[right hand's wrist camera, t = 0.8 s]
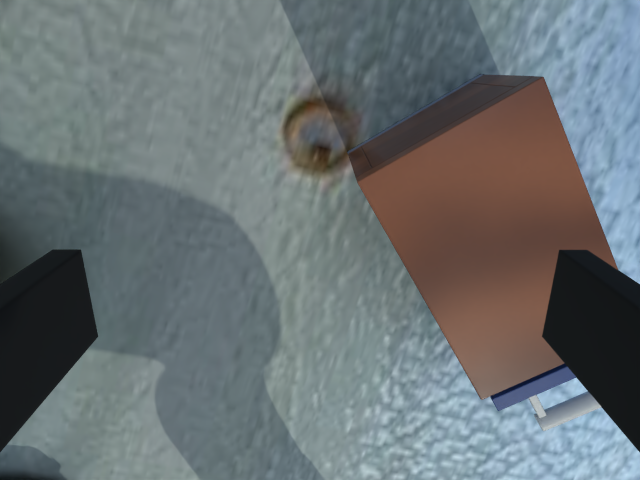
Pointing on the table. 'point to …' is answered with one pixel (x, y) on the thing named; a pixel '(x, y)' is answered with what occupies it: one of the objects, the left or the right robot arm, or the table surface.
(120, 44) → the table surface
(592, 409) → the drawer
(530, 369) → the cabinet
